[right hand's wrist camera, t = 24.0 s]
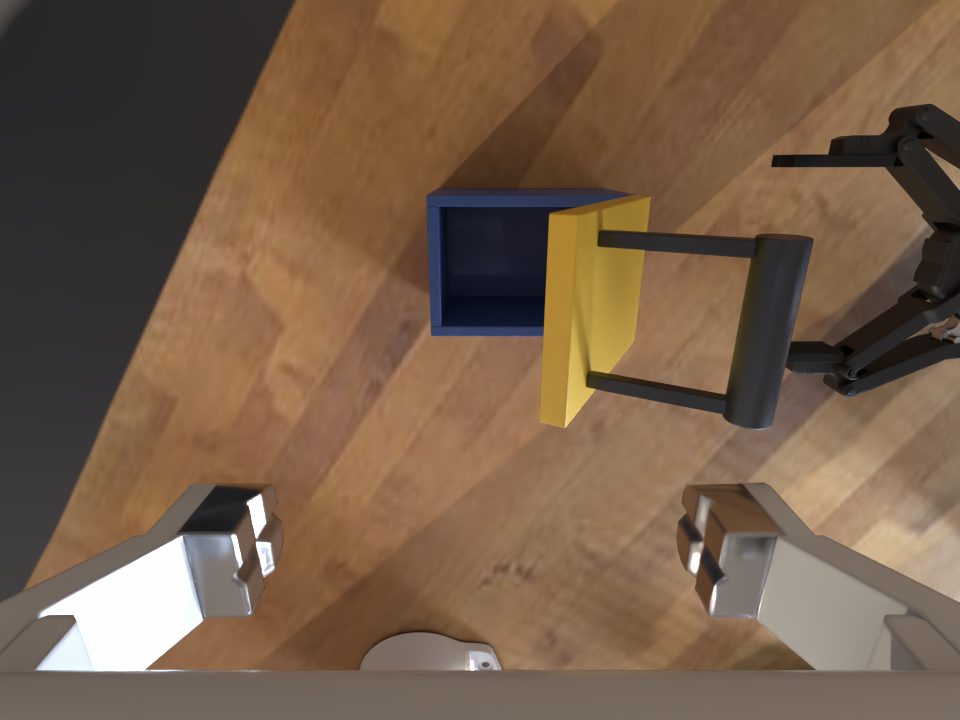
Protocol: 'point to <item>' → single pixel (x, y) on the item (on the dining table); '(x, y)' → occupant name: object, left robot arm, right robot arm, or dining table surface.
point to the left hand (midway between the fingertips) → (762, 262)
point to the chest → (494, 256)
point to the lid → (615, 300)
